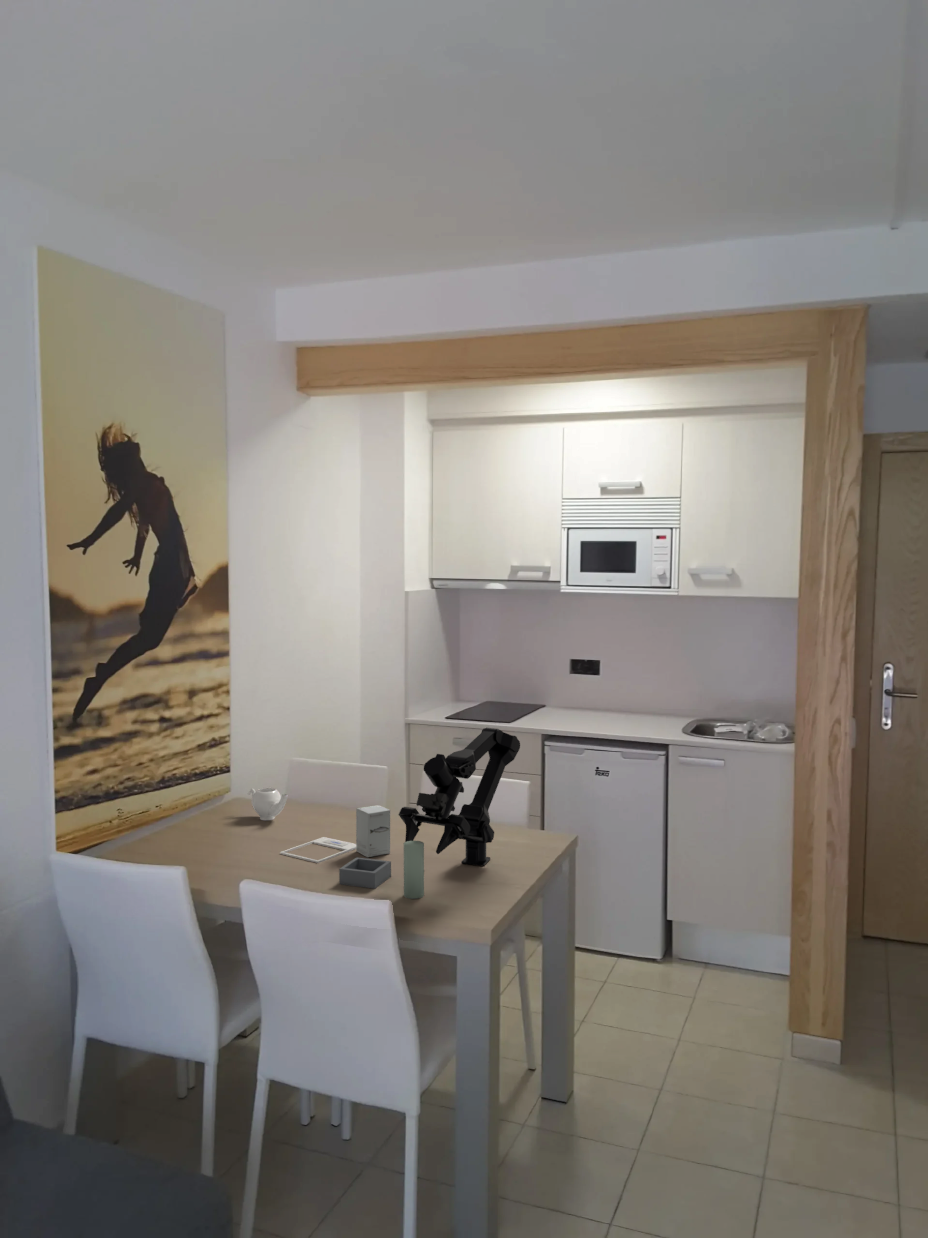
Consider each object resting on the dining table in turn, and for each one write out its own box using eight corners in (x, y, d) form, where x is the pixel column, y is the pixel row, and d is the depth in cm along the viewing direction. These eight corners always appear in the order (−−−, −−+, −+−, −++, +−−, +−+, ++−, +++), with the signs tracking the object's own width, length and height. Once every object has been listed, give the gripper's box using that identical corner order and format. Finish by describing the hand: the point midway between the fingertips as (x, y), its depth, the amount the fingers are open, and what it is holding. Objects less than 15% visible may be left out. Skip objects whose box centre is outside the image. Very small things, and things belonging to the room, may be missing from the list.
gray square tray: (356, 872, 257) (356, 857, 257) (391, 876, 254) (391, 861, 253) (339, 884, 247) (339, 868, 247) (375, 888, 244) (374, 873, 244)
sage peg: (408, 890, 243) (408, 839, 242) (427, 893, 241) (426, 841, 240) (400, 897, 238) (400, 845, 237) (419, 899, 236) (419, 847, 236)
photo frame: (361, 844, 279) (317, 860, 264) (361, 848, 279) (318, 864, 265) (323, 836, 288) (279, 851, 273) (323, 840, 288) (279, 855, 273)
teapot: (260, 810, 319) (259, 782, 319) (298, 821, 306) (298, 792, 306) (235, 816, 312) (235, 787, 312) (274, 827, 299) (274, 797, 299)
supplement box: (367, 858, 269) (367, 813, 268) (355, 851, 275) (355, 807, 274) (391, 854, 273) (390, 809, 272) (378, 847, 279) (378, 804, 278)
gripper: (402, 775, 250) (377, 827, 241) (464, 784, 241) (441, 839, 232) (419, 799, 257) (395, 850, 249) (480, 808, 248) (458, 862, 239)
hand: (421, 850), depth 242 cm, fingers open, 9 cm apart
